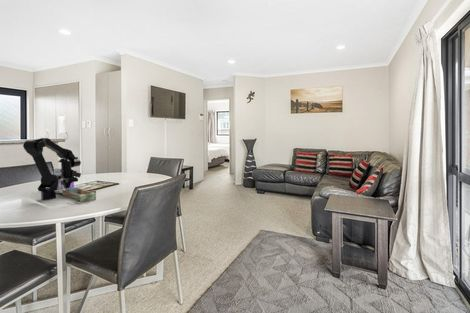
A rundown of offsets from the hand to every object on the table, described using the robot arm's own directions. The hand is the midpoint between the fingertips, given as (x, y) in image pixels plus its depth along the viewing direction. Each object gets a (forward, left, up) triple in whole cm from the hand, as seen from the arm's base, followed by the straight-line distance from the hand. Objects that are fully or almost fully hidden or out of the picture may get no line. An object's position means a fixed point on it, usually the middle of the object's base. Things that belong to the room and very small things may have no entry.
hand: (67, 190), depth 174 cm
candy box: (+6, +20, -3) cm, 21 cm away
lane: (+3, -16, -2) cm, 16 cm away
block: (0, -6, -1) cm, 6 cm away
